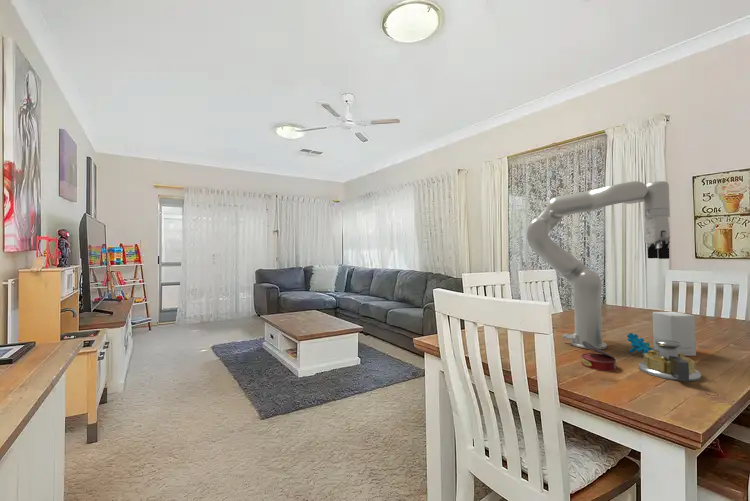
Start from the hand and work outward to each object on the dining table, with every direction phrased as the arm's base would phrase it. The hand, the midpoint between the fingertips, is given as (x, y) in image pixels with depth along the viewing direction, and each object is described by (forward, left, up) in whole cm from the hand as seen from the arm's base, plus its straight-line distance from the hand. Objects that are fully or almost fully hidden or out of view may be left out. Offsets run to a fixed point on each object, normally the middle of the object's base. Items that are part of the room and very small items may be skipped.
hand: (658, 258), depth 130 cm
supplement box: (+4, +1, -36) cm, 37 cm away
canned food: (-25, -26, -36) cm, 51 cm away
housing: (-6, -26, -36) cm, 45 cm away
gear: (-8, -6, -36) cm, 38 cm away
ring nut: (-6, -29, -34) cm, 45 cm away
